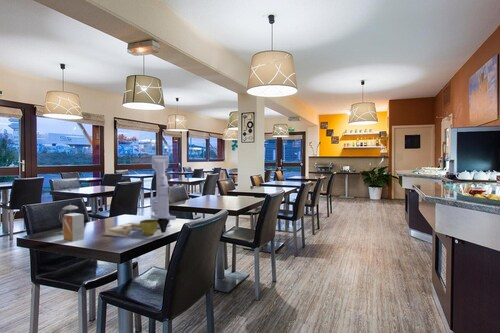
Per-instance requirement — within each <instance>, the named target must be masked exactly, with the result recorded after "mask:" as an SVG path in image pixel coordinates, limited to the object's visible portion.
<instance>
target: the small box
mask: <svg viewBox="0 0 500 333" xmlns="http://www.w3.org/2000/svg"><path fill="white" fill-rule="evenodd" d="M84 216H85V215H84V214H83V213H76V212H71V214H70V213H67V214H62V219H63V220H62V222H63V223H62V225H63V224H64V234H63V240H66V241H71V242H77V241H79V240H84V239H85V223H84V222H85V220H84V219H85V217H84Z"/></svg>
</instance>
